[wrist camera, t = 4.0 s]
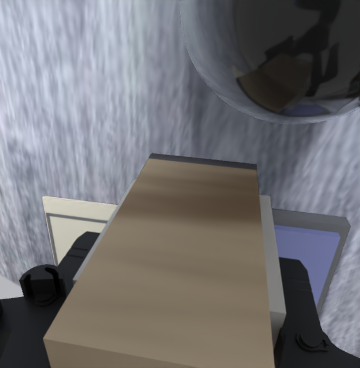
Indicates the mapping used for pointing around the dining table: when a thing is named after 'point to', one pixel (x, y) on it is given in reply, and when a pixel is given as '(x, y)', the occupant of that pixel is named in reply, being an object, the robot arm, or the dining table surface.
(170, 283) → the tall wooden block
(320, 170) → the dining table surface
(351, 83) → the pump dispenser
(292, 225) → the ink pad
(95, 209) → the tag card
